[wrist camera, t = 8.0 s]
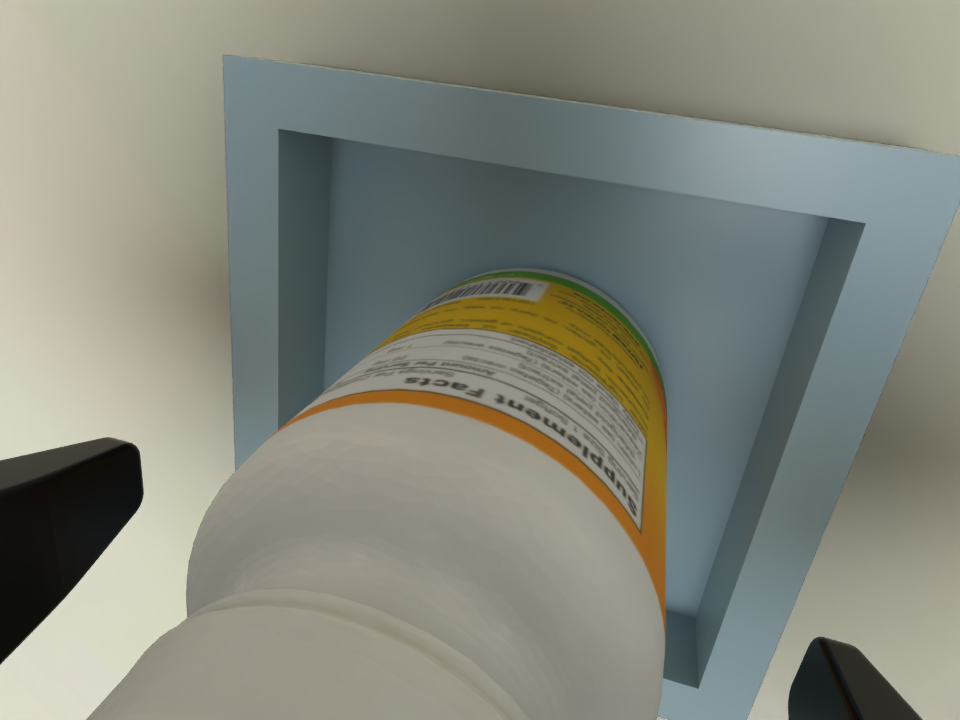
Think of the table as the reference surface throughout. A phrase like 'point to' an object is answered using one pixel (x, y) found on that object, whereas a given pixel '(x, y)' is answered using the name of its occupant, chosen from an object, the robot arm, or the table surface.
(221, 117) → the table surface
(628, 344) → the supplement bottle
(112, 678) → the table surface
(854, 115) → the table surface
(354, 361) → the tray
